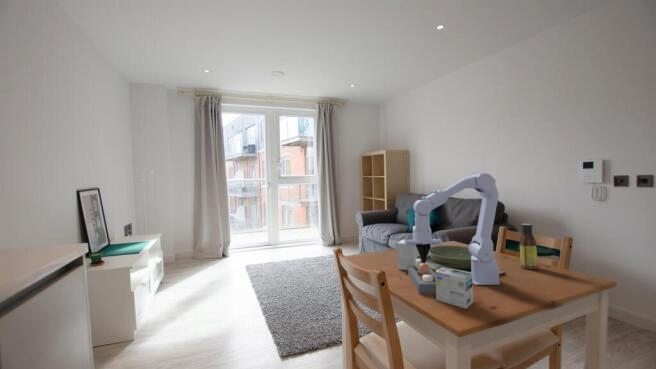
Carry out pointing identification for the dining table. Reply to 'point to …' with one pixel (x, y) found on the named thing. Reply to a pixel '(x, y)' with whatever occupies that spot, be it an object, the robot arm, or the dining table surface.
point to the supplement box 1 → (406, 255)
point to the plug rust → (423, 269)
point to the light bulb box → (454, 287)
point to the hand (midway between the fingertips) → (423, 262)
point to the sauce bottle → (528, 248)
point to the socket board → (418, 281)
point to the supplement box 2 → (414, 238)
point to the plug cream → (427, 278)
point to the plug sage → (418, 264)
